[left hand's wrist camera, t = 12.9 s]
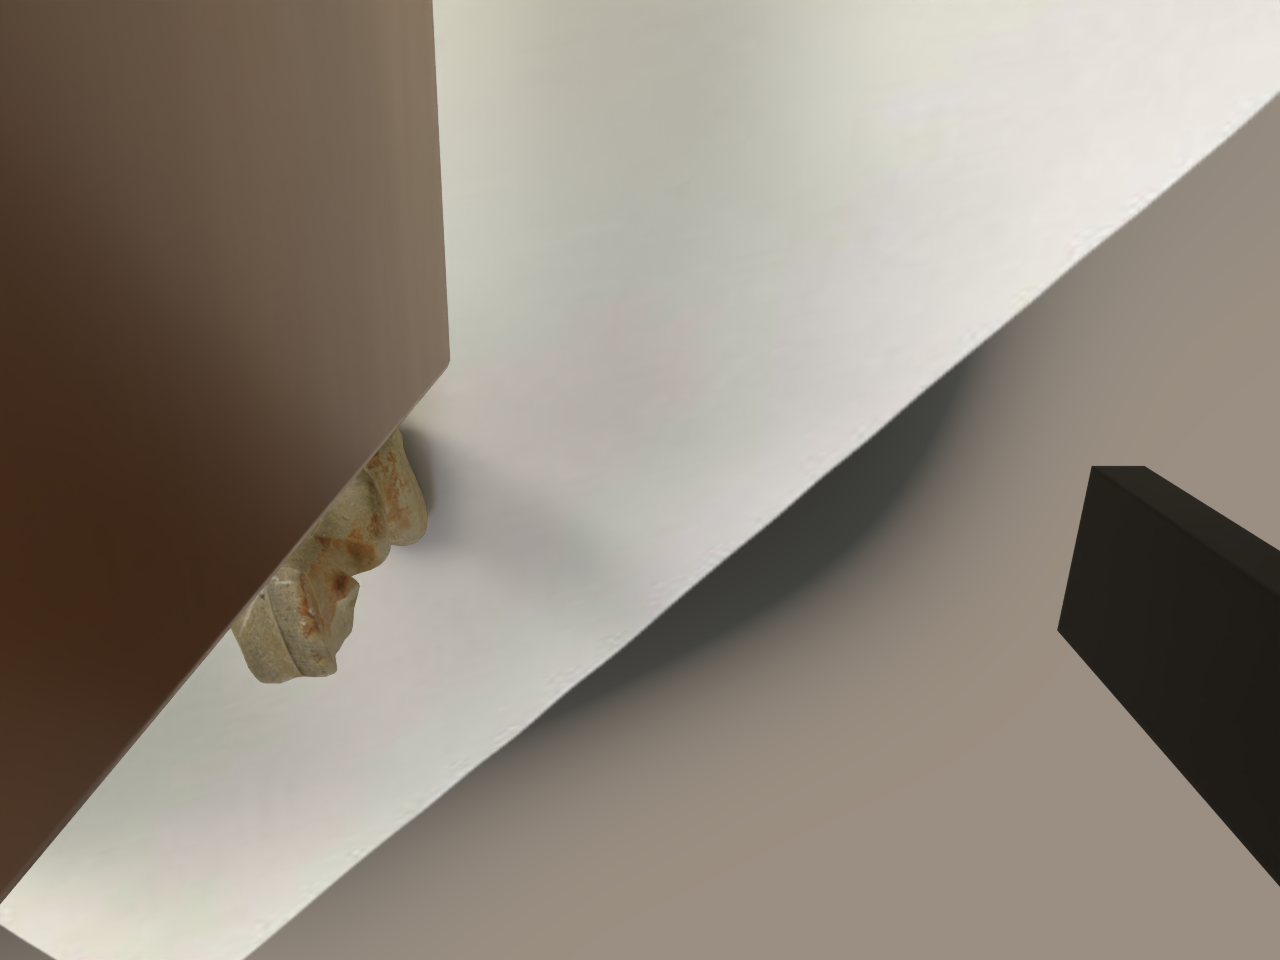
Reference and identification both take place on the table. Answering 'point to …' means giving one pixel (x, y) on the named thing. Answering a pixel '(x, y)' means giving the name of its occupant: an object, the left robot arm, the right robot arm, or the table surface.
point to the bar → (190, 338)
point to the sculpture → (331, 571)
